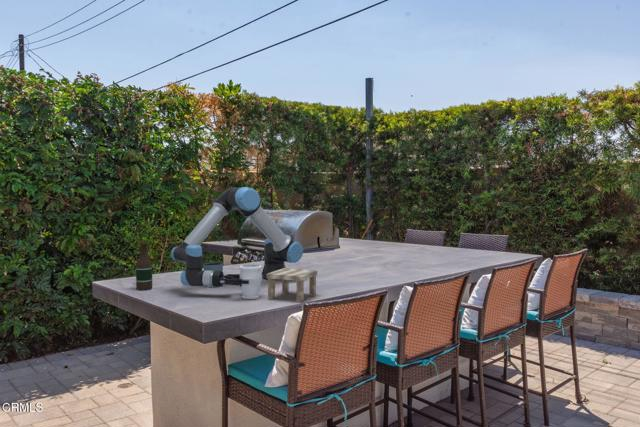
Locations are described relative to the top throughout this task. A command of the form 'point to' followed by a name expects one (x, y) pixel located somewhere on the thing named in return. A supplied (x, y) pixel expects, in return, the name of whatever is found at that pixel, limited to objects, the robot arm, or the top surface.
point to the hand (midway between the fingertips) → (259, 279)
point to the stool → (292, 274)
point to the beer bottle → (143, 269)
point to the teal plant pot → (213, 268)
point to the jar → (251, 273)
